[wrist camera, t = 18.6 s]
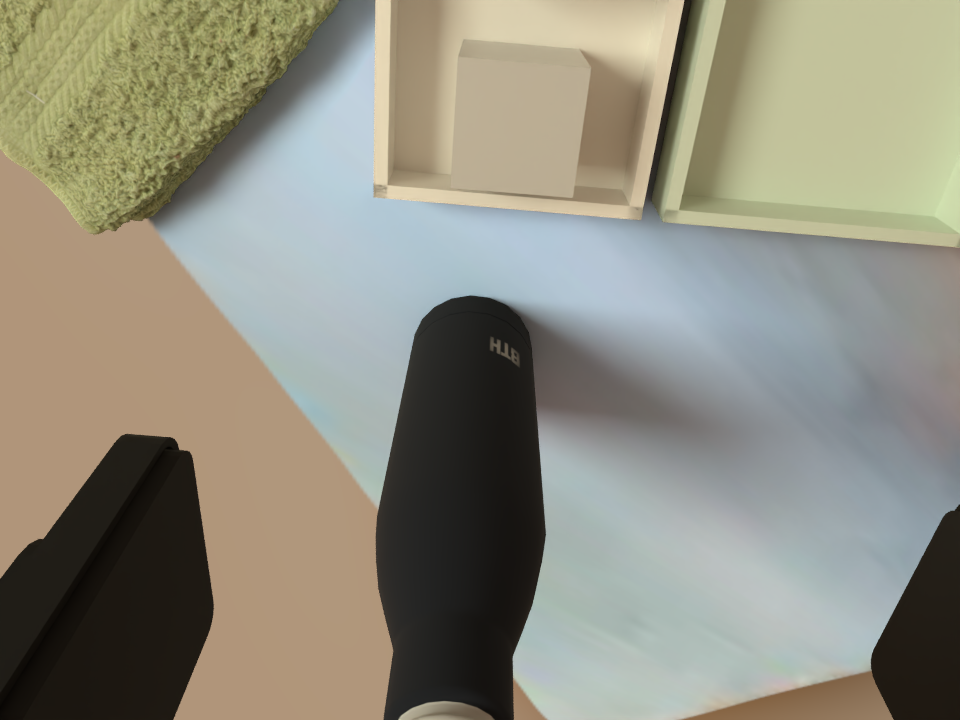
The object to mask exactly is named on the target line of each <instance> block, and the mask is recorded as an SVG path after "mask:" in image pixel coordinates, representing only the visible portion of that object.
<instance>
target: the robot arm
mask: <svg viewBox="0 0 960 720" xmlns="http://www.w3.org/2000/svg"><path fill="white" fill-rule="evenodd" d="M213 607H214V605H213V595H212V589H211V582H210V575H209V569H208V561H207V554H206V547H205V540H204V533H203V526H202V519H201V512H200V505H199V499H198V491H197V485H196V478H195V471H194V464H193V458H192V455H191V453H190V452H188V451H184V450H179V448H178V444H177V442H176V441H175V439H173V438H171V437H159V436H158V437H157V436H145V435H133V434H125V435H122V436H121V437H120V438H119V439H118V440H117V441H116V442H115V443H114V445H113V446H112V447H111V449H110V450H109V451H108V453H107V454H106V455H105V457H104V458H103V459H102V461H101V462H100V464H99V465H98V466H97V468H96V469H95V470H94V472H93V473H92V474H91V476H90V477H89V478H88V480H87V481H86V482H85V484H84V485H83V486H82V488H81V489H80V490H79V492H78V493H77V494H76V496H75V497H74V499H73V500H72V501H71V503H70V504H69V506H68V507H67V508H66V509H65V511H64V512H63V513H62V515H61V516H60V517H59V519H58V520H57V521H56V523H55V524H54V525H53V527H52V528H51V530H50V531H49V532H48V534H47V535H46V536H45V538H44V539H38V540H36V541H34V542H32V543H30V544H29V545H28V546H27V547H26V548H25V549H24V550H23V551H22V552H21V553H20V554H19V555H18V556H17V558H16V559H15V560H14V562H13V563H12V564H11V566H10V567H9V568H8V570H7V571H6V572H5V574H4V575H3V576H2V578H1V579H0V720H173V719H174V717H175V714H176V712H177V709H178V707H179V704H180V702H181V699H182V697H183V694H184V692H185V690H186V687H187V684H188V682H189V680H190V677H191V675H192V673H193V670H194V668H195V665H196V663H197V660H198V658H199V656H200V653H201V651H202V648H203V646H204V643H205V641H206V639H207V636H208V633H209V631H210V627H211V623H212V618H213V609H214V608H213ZM871 669H872V674H873V678H874V680H875V683H876V685H877V687H878V689H879V691H880V693H881V695H882V697H883V699H884V701H885V703H886V705H887V707H888V709H889V711H890V713H891V715H892V717H893V719H894V720H960V504H959V505H958V507H957V508H956V509H955V511H950V512H948V513H946V514H945V516H944V517H943V518H942V520H941V522H940V524H939V526H938V528H937V530H936V532H935V533H934V535H933V537H932V539H931V541H930V543H929V545H928V547H927V549H926V551H925V553H924V555H923V556H922V558H921V560H920V562H919V564H918V566H917V568H916V570H915V572H914V574H913V576H912V577H911V579H910V581H909V583H908V585H907V587H906V589H905V591H904V593H903V595H902V597H901V598H900V600H899V602H898V604H897V606H896V608H895V610H894V612H893V614H892V616H891V618H890V619H889V621H888V623H887V625H886V627H885V629H884V631H883V633H882V635H881V637H880V639H879V640H878V642H877V644H876V646H875V648H874V650H873V653H872V658H871Z"/></svg>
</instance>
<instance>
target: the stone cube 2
mask: <svg viewBox="0 0 960 720" xmlns="http://www.w3.org/2000/svg"><path fill="white" fill-rule="evenodd" d="M590 74H591V67H590V65H589V64H588V62H587V61H586V59H585V57H584V56H583V54H582V53H581V51H580V50H579V49H573V48H562V47H550V46H538V45H527V44H515V43H503V42H492V41H480V40H468V39H463V42H462V45H461V48H460V52H459V55H458V63H457V81H456V98H455V115H454V133H453V150H452V168H451V185H450V188H457V189H469V190H482V191H494V192H506V193H518V194H530V195H543V196H555V197H567V198H573V193H574V186H575V179H576V172H577V165H578V158H579V151H580V144H581V137H582V130H583V123H584V116H585V109H586V102H587V95H588V88H589V81H590Z"/></svg>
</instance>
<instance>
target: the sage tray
mask: <svg viewBox="0 0 960 720" xmlns="http://www.w3.org/2000/svg"><path fill="white" fill-rule="evenodd" d="M651 202H652V203H653V205H654V207H655V209H656V211H657V212H658V214H659V216H660V218H661V220H662V221H663V222H668V223H680V224H692V225H703V226H715V227H727V228H738V229H750V230H762V231H773V232H785V233H797V234H808V235H820V236H832V237H844V238H855V239H867V240H879V241H890V242H902V243H914V244H925V245H937V246H949V247H960V0H692V1H691V6H690V11H689V16H688V21H687V26H686V31H685V36H684V41H683V46H682V51H681V56H680V61H679V66H678V70H677V75H676V80H675V85H674V90H673V95H672V100H671V105H670V110H669V115H668V120H667V125H666V130H665V135H664V140H663V144H662V149H661V154H660V159H659V164H658V169H657V174H656V179H655V184H654V189H653V194H652V199H651Z"/></svg>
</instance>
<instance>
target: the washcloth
mask: <svg viewBox="0 0 960 720" xmlns="http://www.w3.org/2000/svg"><path fill="white" fill-rule="evenodd" d="M338 1H339V0H0V149H1V150H2V151H3V152H4V154H5V155H6V156H7V157H8V158H10V159H11V160H12V161H13V162H15V163H16V164H18V165H20V166H21V167H23V168H25V169H27V170H28V171H30V172H31V173H33V175H35V176H36V177H37V178H39V179H40V180H41V181H42V182H43V183H44V184H46V186H47V187H48V188H49V189H50V190H51V191H52V192H53V193H54V194H55V195H56V196H57V197H58V198H59V199H60V200H61V201H62V202H63V203H64V205H65V206H66V207H67V209H68V210H69V211H70V213H71V214H72V216H73V217H74V218H75V220H76V221H77V222H78V223H79V225H80V226H81V227H82V228H83V229H86V230H87V231H88V232H89V233H90V234H99V233H102V232H104V231H105V230H107V229H110V230H111V231H116V230H117V229H118V228H119V227H121V225H122V224H123V223H126V222H129V221H130V220H135V221H142V220H143V219H145V218H149V217H152V216H154V215H155V214H156V213H157V212H158V211H159V210H160V208H161V207H162V206H164V205H165V204H166V203H171V195H172V194H174V193H175V190H176V189H177V188H178V186H179V185H180V184H182V182H184V181H186V180H187V179H188V178H189V177H190V176H191V175H192V174H193V173H194V171H195V170H196V168H197V167H198V166H199V165H200V163H201V162H203V161H205V160H206V156H207V155H208V154H210V153H212V151H213V146H214V145H215V144H218V143H220V142H222V140H223V139H225V137H226V135H227V134H229V133H230V131H231V130H232V129H233V128H234V127H235V126H237V125H238V124H239V121H240V120H242V119H243V117H244V114H246V113H248V112H249V111H248V109H249V108H251V107H252V106H256V104H257V103H259V102H260V101H261V99H262V96H263V95H264V94H265V93H266V87H267V86H269V85H270V84H272V83H274V81H275V80H276V79H280V78H281V77H282V75H283V74H284V73H285V72H286V71H287V65H289V64H290V62H291V61H292V59H294V58H296V56H297V55H298V54H299V53H300V52H302V51H303V50H304V49H305V48H306V46H307V45H308V40H309V39H311V38H312V35H313V32H314V31H316V29H317V28H318V26H320V25H321V23H322V22H323V21H324V20H326V18H327V17H328V16H329V15H330V14H331V13H332V12H333V10H334V8H335V7H336V6H337V3H338Z"/></svg>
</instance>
